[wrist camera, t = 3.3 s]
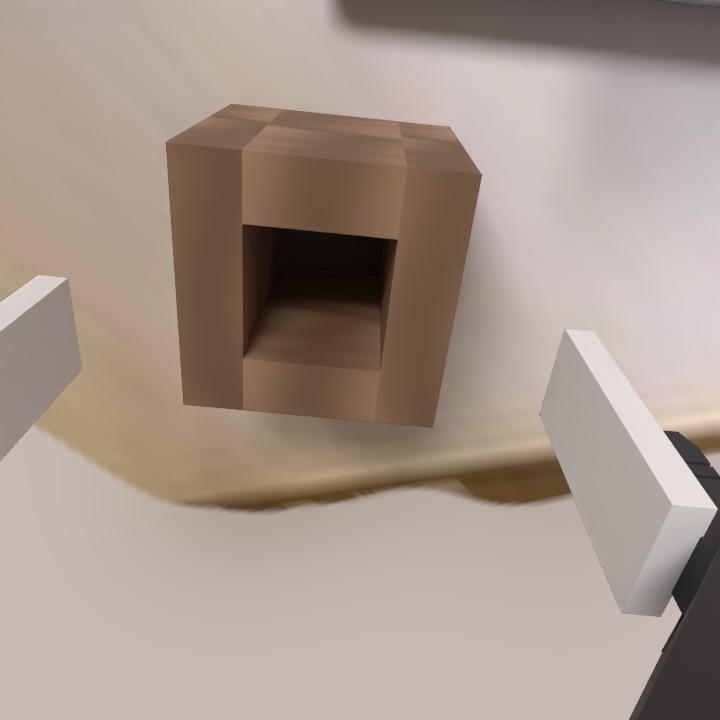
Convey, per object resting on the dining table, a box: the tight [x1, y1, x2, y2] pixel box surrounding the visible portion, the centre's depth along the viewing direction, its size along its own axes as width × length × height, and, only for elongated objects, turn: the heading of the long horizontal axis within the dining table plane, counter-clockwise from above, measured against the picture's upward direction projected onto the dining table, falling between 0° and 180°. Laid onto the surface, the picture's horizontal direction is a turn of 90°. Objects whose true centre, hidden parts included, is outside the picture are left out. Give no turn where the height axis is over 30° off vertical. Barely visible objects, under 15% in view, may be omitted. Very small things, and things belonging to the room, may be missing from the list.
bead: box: [166, 104, 482, 428], centre depth 21 cm, size 8×8×8 cm
